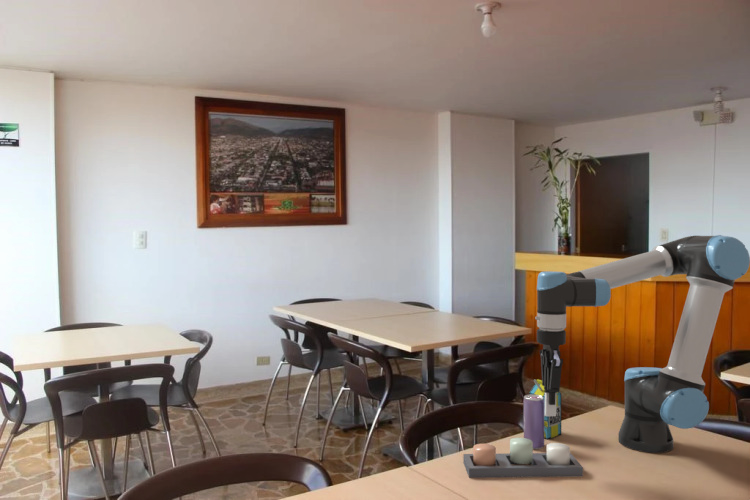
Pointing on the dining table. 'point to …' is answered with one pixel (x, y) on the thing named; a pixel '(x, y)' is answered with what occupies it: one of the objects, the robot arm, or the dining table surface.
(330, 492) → the dining table surface
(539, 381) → the carton
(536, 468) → the dark grey flat tray
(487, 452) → the terracotta button
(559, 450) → the ivory button
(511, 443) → the sage button
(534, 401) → the beverage can
